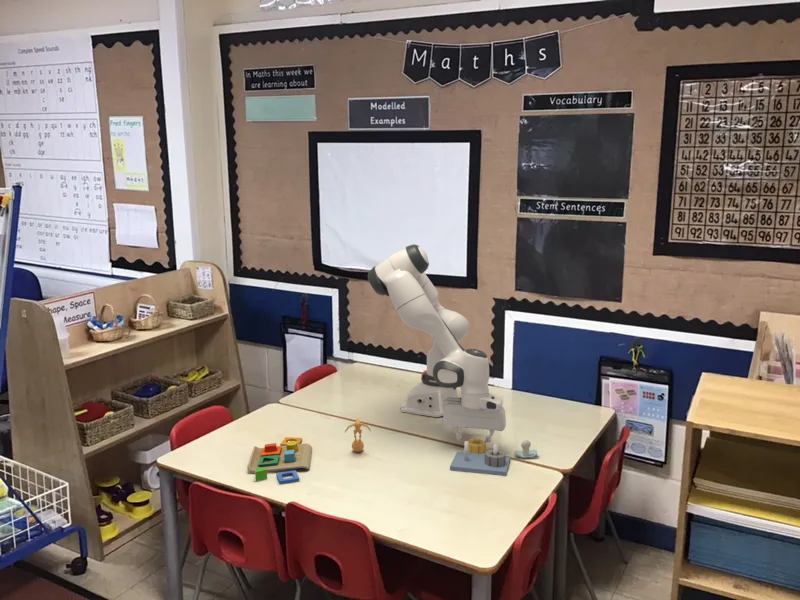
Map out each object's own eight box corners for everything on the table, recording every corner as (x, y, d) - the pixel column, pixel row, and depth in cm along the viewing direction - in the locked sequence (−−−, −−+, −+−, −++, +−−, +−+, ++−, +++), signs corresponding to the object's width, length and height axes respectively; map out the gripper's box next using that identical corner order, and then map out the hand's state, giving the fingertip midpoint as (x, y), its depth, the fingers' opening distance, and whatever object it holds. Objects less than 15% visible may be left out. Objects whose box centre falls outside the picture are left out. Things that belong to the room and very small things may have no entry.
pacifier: (511, 454, 229) (516, 461, 223) (511, 435, 228) (516, 442, 222) (533, 453, 229) (538, 460, 223) (533, 434, 228) (539, 441, 222)
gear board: (449, 469, 216) (450, 447, 215) (457, 455, 227) (457, 433, 226) (505, 475, 211) (506, 453, 210) (510, 460, 223) (510, 438, 222)
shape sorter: (257, 441, 240) (256, 428, 239) (313, 439, 241) (313, 426, 240) (243, 485, 207) (242, 471, 206) (308, 483, 208) (307, 468, 207)
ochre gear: (465, 453, 228) (465, 444, 228) (468, 446, 234) (468, 437, 234) (484, 455, 227) (484, 446, 226) (487, 448, 233) (487, 439, 232)
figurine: (370, 448, 233) (369, 413, 231) (371, 455, 227) (370, 420, 225) (344, 449, 232) (344, 414, 230) (345, 457, 226) (344, 421, 224)
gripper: (441, 399, 227) (440, 440, 229) (504, 405, 221) (503, 447, 224) (445, 393, 233) (444, 433, 235) (507, 399, 227) (506, 440, 230)
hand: (473, 440), depth 229 cm, fingers open, 8 cm apart
